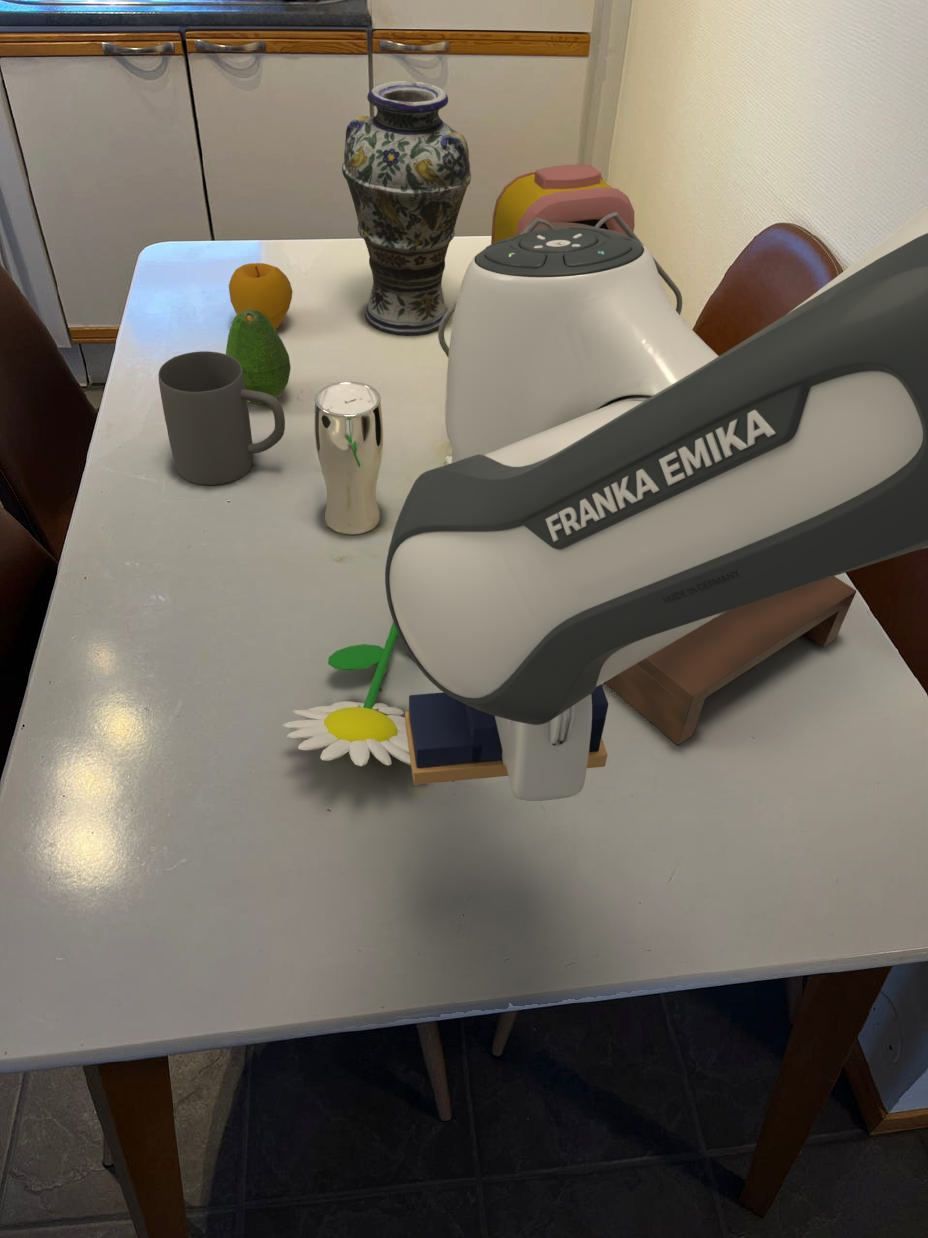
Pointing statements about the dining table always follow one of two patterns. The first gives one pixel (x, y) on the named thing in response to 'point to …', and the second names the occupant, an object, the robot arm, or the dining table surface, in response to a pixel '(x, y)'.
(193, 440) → the mug
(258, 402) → the fruit
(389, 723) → the decorative flower
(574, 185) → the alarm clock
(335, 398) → the beer glass
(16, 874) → the dining table surface
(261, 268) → the apple
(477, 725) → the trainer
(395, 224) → the vase
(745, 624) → the brown wooden stand
